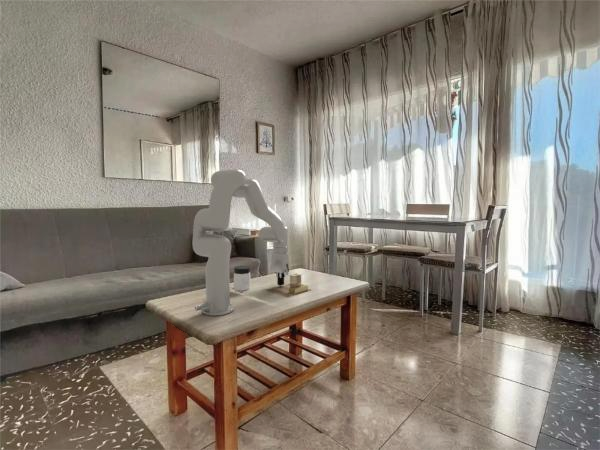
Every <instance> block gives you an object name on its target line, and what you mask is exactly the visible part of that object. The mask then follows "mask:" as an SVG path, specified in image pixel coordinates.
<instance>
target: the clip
mask: <svg viewBox="0 0 600 450" xmlns="http://www.w3.org/2000/svg"><path fill="white" fill-rule="evenodd" d="M308 289H309V285H307V284H303V283H301V286H300V287H296V288H294V287H289V293H292V294H297V293H301V292H304V291H308ZM308 292H309V291H308Z"/></svg>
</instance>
